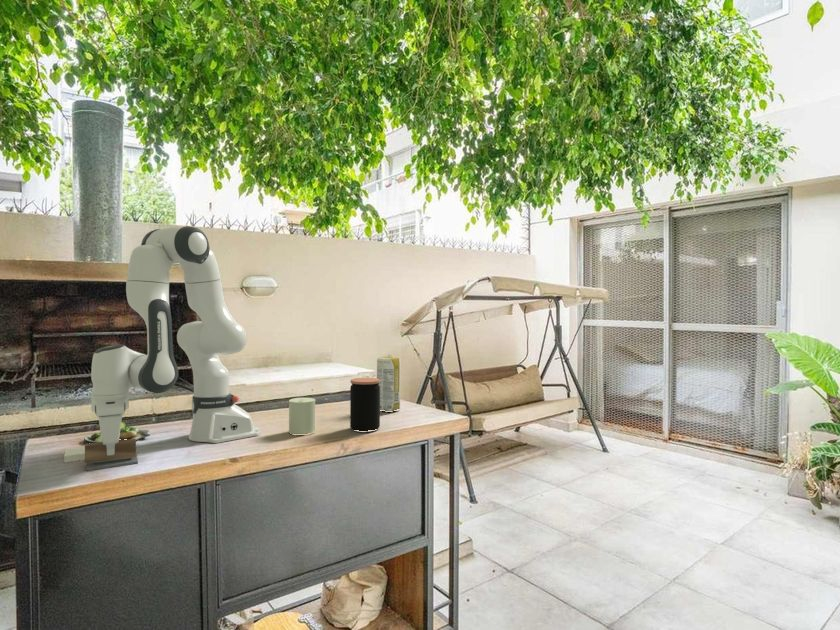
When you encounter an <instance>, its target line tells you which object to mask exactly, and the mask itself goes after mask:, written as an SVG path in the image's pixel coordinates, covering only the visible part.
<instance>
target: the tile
mask: <svg viewBox="0 0 840 630" xmlns="http://www.w3.org/2000/svg"><path fill="white" fill-rule="evenodd" d="M63 456H64V458H63V461H64V462H66V463H72V462H71V461H73V462H79V460H80V461H85V446H80V447H71V448H65V452H64V455H63ZM64 462H63V463H64Z"/></svg>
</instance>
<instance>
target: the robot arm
mask: <svg viewBox="0 0 840 630" xmlns="http://www.w3.org/2000/svg"><path fill="white" fill-rule="evenodd" d="M173 264H179V265H180V266H181V268H182V270H183V280H184V285H185V292H186V293H185V294H186V299H187V305H188V307H189V308H190V309H191V310H193V312H194V313H196V314H197V316H198V317H199V319H200V320H196V321H191V322H187V323H184V324H182V325H181V326H180V328H179V329H178V330H177V334H176V341H177V344H178V347H180V348H181V349H182V350H183V351H184V353H185V354H186V356H187V357H188V360H189V363H190V367H191V369H192V373H193V374H192V376H193V377H192V379H193V395H192V400H191V411H192V421H191V428H190V432H189V436H188V440H189V441H191V442H192V441H193V442H199V443H201V442H203V443H211V444H218V443H222V442H223V443H224V442H229V441H234V440H241V439H245V438H251V437H257V436H259V435H260V428H259V427H258V426H255V425H254V422H253V419H252V418H253V417H252V416H251V414H250V413H249V412H247V410H244V409H243V408H242V407H240V406H239V405H237V404H235V403H238V402H239V401H240V399H239V396H237V395H234V394H232V393H230V371H229V369H228V368H227V367H226V366H225V365H224V364H223V363H222V361H221V360H220V357H219V355H224V356H225V355H233V354H236V353H239V352H241V351H242V350H244V348H245V346H246V344H247V339H248V337H247V332H246V330H245V328H244V326H242V325H241V324H240V323H238V322H237V320H235V318H234V317H233V316H232V314H231V312H230V311H229V308H228V305H227V303H226V301H225V295H224V289H223V284H222V279H221V272H220V268H219V264H218V261H217V258H216V255H215V253H214V251H213V250H212V249H211V248H210V242H209V240H208V237H207V235H206V234H205V232H204V231H203V230H201V229H200V228H198V227H196V226H195V227H194V226H188V225H186V226H169V227H164V228H157V229H153V230H151V231H148V232H147V233H145V235H144V236H143V238H142V240H141V244H140V245H138V246H136V247H135V248H133V250H132V251H131V253H130V257H129V261H128V267H127V273H126V283H125V284H126V285H125V292H126V300H127V304H128V305H129V307H131V309H133V310H134V311H135V312H136V313H138V315H139V316H140V317H141V318H142V319H143V320H144V323H145V326H146V335H147V336H146V338H147V339H146V340H147V345H146V347H147V354H145V353H142V352H139V351H135V350H133V349H131V348H129V347H127V346H126V345H125V344H110V345H105V346H102V347H100V348H97V349H95V351H94V352H93V354H92V361H91V371H90V373H91V374H90V375H91V377H90V378H91V382H92V390H91V393H90V394H91V395H90V397H91V399H90V401H91V402H90V403H91V405H90V406H91V408H90V409H91V412H92V413H94V414H95V416H96V417H97V418H98V423H99V430H100V432H99V433H101V438H102V443H103V445H106V447H107V455H108V456H109V455H114V453H115V444H116V443H118V441H119V437H120V429H121V422H122V419H123V415H124V414H125V412H126V411H127V410H128V409H129V407H130V405H129V404H130V400H129V399H130V398H129V397H130V395H129V393H130V392H129V390H130V389H131V388H134V387H136V388H138V389H142V390H145V391H147V392H150V393H152V394H162V393H165V392H167V391H169V390H170V389H172V388H173V387H174V386H175V384H176V383H177V381H178V377H179V368H178V364H177V362H176V359H175V356H174V344H173V343H174V342H173V323H172V322H173V321H172V312H171V306H170V305H171V304H170V270H171V268H172V265H173Z"/></svg>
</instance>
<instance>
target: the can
mask: <svg viewBox="0 0 840 630" xmlns="http://www.w3.org/2000/svg"><path fill="white" fill-rule="evenodd" d="M288 410H289V411H288V412H289V413H288V434H289V433H291V434H308V433H312V432H314V431H316V398H313V397H295V398H291V399H289V400H288Z"/></svg>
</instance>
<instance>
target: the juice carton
mask: <svg viewBox="0 0 840 630" xmlns="http://www.w3.org/2000/svg"><path fill="white" fill-rule="evenodd" d="M394 356H395V355H394V354H389V353H388V354H387V355H386V356H379V357H377V358H376V378H377V379H380V382H379V386H380V410H385V411H394V410H397V409H401V357H394Z"/></svg>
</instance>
